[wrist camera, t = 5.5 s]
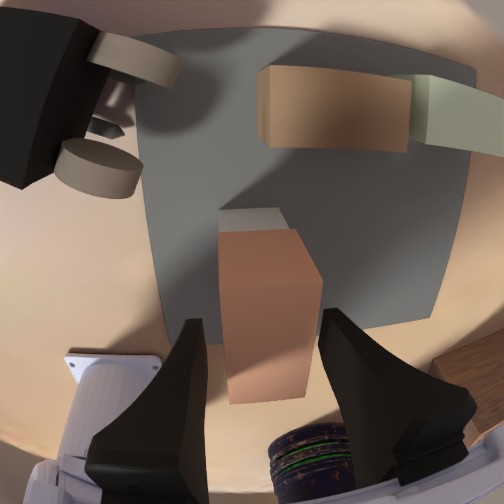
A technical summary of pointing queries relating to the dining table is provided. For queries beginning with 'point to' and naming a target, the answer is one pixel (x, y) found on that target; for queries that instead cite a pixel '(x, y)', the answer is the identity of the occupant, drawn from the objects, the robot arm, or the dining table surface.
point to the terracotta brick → (267, 313)
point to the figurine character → (68, 100)
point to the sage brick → (455, 115)
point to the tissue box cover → (477, 382)
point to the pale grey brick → (251, 219)
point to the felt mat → (292, 179)
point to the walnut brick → (332, 109)
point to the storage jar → (311, 463)
